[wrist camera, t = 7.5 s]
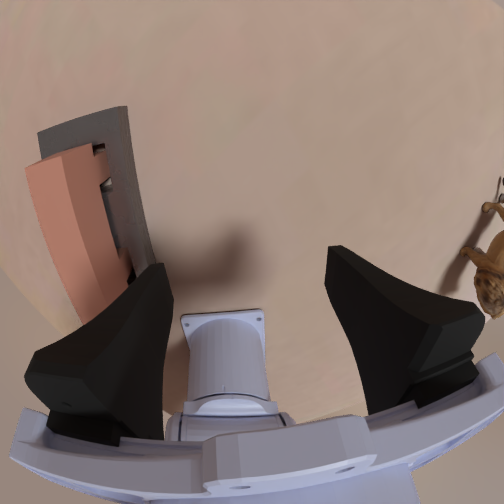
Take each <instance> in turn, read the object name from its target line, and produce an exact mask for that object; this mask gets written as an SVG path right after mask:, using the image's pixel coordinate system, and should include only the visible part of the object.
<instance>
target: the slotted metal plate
mask: <svg viewBox="0 0 504 504" xmlns="http://www.w3.org/2000/svg"><path fill="white" fill-rule="evenodd" d="M37 134H38V141H39V147H40V152H41V158H42V160H43V159H45V158H47V157H49V156H51V155H54V154H56V153H59V152H62V151H65V150H68V149H72V148H75V147H78V146H82V145H86V144H89V143H91V144H92V146H93V145H97V144H101V143H105V148H106V154H107V160H108V166H109V171H110V176H111V181H112V185H107V186H102V187H100V190H101V195H102V199H103V203H104V207H105V211H106V215H107V219H108V223H109V227H110V230H111V234H112V237H113V241H114V244H115V247H116V249H117V248H126V247H128V250H129V254H130V257H131V261H132V264H133V267H134V270H135V272H131V273H130V275H129V277H128V279H127V284H128V287H129V286H130V285H131V283H132V282H133V281H134V280H135V279H136V278H137V277H138V276H139V275H140V274H141V273H142V272H143V271H144V270H145V269H146V268H147V267H148V266H149V265H150V264H156V262H155V258H154V254H153V250H152V246H151V242H150V238H149V233H148V229H147V225H146V220H145V216H144V211H143V206H142V201H141V196H140V191H139V186H138V180H137V174H136V169H135V162H134V156H133V150H132V143H131V135H130V128H129V119H128V110H127V106H118V107H114V108H110V109H106V110H102V111H99V112H95V113H92V114H89V115H85V116H82V117H79V118H76V119H73V120H70V121H67V122H64V123H61V124H59V125H56V126H53V127H50V128H48V129H45V130H43V131H40V132H38V133H37Z"/></svg>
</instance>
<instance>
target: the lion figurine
mask: <svg viewBox="0 0 504 504" xmlns="http://www.w3.org/2000/svg"><path fill="white" fill-rule="evenodd" d="M503 185H504V178H503ZM500 202H501V203H502V204H503V203H504V194H502V195H501V197H500ZM490 209H494V210H496V211H497V212H498V213H499V215H500V217H501V218H502V220H503V221H504V208H503V207H502V206H501V204H500V203H490V202H487V203H485V204H484V205H483V208H482V210H483V211H484V212H485V213H488V211H489V210H490ZM460 254H461V256H465V255H468V256H469V257H470V259H471V260H472V262H473V263H474V264H475V265H476V266H477V267H478V268H477V270H476V275H475V277H474V285H475V288H476V293H477V298H478V301H479V302H480V305H481V307H482V309H483V310H484V312H485V313H487V314H489V315H491V317H492V318H493V319H494V320H495V319H496V318H499V317H500V316H502V315H503V314H504V230H503V231H501V232H500V233H498V234H497V235H496V236H495V238H494V239H493V240H492V242H491V244H490V246H489V248H488V251H487V253H484V252H483V251H482V250H481V249H480V248H478V247H475V248H474V249H472V248H469V247H463V248H462V249H461V251H460Z"/></svg>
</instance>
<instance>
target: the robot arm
mask: <svg viewBox="0 0 504 504" xmlns="http://www.w3.org/2000/svg"><path fill="white" fill-rule="evenodd" d="M324 284H325V287H326V290H327V294H328V297H329V299H330V302H331V304H332V307H333V309H334V311H335V313H336V315H337V317H338V319H339V321H340V323H341V325H342V327H343V329H344V331H345V334H346V336H347V338H348V340H349V342H350V345H351V347H352V351H353V354H354V357H355V360H356V363H357V367H358V370H359V374H360V377H361V381H362V385H363V390H364V394H365V399H366V404H367V410H368V415H369V416H366V417H361V416H356V415H351V414H350V415H343V416H336V417H331V418H326V419H322V420H317V421H312V422H307V423H301V424H296V422H295V421H294V419H292V418H291V417H290V416H289V415H288V414H287V413H286V412H278V406H277V402H271V399H270V393H269V387H268V381H267V374H266V368H265V332H264V312H263V311H262V310H260V309H257V310H247V311H236V312H224V313H211V314H197V315H184V316H182V317H181V323H182V327H183V330H184V333H185V336H186V340H187V343H188V346H189V349H190V361H189V376H188V393H187V401H185V402H184V406H183V413H180V412H175V413H174V414H173V416H172V417H170V418H169V420H168V422H167V425H166V432H165V441H164V431H163V413H162V385H163V367H164V359H165V354H166V349H167V343H168V338H169V333H170V328H171V323H172V317H173V302H174V299H173V295H172V292H171V289H170V285H169V281H168V278H167V274H166V271H165V267H164V263H158V264H150V265H149V266H148V267H147V268H146V269H145V270H144V271H143V272H142V273H141V274H140V275H139V276H138V277H137V278H136V279H135V280H134V281H133V282H132V283H131V285H130V286H129V287H128V288H127V289H126V290H125V291H124V292H123V293H122V294H121V295H120V296H119V297H117V298H116V299H115V300H114V301H113V302H112V303H111V304H110V305H109V306H108V307H107V308H106V309H104V310H103V311H102V312H101V313H100V314H98V315H97V316H96V317H95V318H93V319H92V320H90V321H89V322H88V323H86V324H85V325H83V326H82V327H80V328H79V329H78V330H76V331H74V332H73V333H71V334H69V335H68V336H66V337H64V338H62V339H61V340H59V341H57V342H55V343H53V344H51V345H48V346H46V347H44V348H42V349H40V350H38V351H36V352H35V353H34V355H33V357H32V359H31V361H30V364H29V366H28V368H27V371H26V373H25V375H24V378H25V382H26V384H27V386H28V387H29V389H30V390H31V391H32V392H33V393H34V394H35V395H36V396H37V397H38V398H39V399H40V400H41V401H42V402H43V403H44V404H45V405H46V406H47V407H48V408H49V409H50V413H49V416H47V415H46V414H44V413H41V412H38V411H35V410H32V409H28V408H23V410H22V413H21V416H20V419H19V422H18V425H17V428H16V431H15V435H14V438H13V442H12V446H11V450H10V454H9V457H10V458H11V459H12V460H14V461H16V462H17V463H19V464H21V465H22V466H24V467H25V468H27V469H29V470H31V471H32V472H34V473H36V474H38V475H39V476H41V477H43V478H45V479H47V480H49V481H52V482H55V483H57V484H60V485H62V486H65V487H68V488H70V489H73V490H76V491H79V492H82V493H85V494H88V495H91V496H95V497H98V498H102V499H105V500H109V501H113V502H117V503H121V504H421V503H420V500H419V497H418V494H417V490H416V487H415V484H414V481H413V478H412V475H411V473H410V472H411V471H413V470H416V469H418V468H420V467H422V466H424V465H426V464H427V463H429V462H431V461H433V460H435V459H437V458H438V457H440V456H442V455H444V454H445V453H447V452H449V451H450V450H452V449H453V448H455V447H457V446H458V445H460V444H461V443H463V442H465V441H466V440H468V439H469V438H471V437H472V436H474V435H475V434H476V433H478V432H479V431H481V430H482V429H484V428H485V427H486V426H488V425H489V424H490V423H491V422H492V421H494V420H495V419H496V418H497V417H498V416H499V415H500V414H501V413H502V412H504V364H503V362H502V361H501V359H500V358H499V357H498V355H497V354H496V353H495V352H494V353H492V354H490V355H489V356H487V357H485V358H483V359H482V360H480V361H479V362H478V363H476V365H474V364H473V362H472V359H473V358H474V354H473V353H472V351H471V348H472V347H473V345H474V344H475V342H476V340H477V338H478V337H479V335H480V334H481V331H482V330H483V327H484V324H485V316H484V314H483V313H482V312H481V311H480V309H479V308H478V307H477V306H476V304H475V303H473V302H469V301H463V300H458V299H453V298H449V297H445V296H441V295H438V294H435V293H432V292H429V291H426V290H423V289H420V288H418V287H415V286H413V285H411V284H408V283H406V282H404V281H402V280H400V279H398V278H396V277H394V276H392V275H390V274H388V273H387V272H385V271H383V270H381V269H379V268H378V267H376V266H374V265H373V264H371V263H370V262H368V261H366V260H365V259H363V258H362V257H360V256H358V255H357V254H355V253H354V252H352V251H350V250H349V249H347V248H345V247H343V246H341V245H338V246H328V254H327V265H326V274H325V283H324ZM259 317H260V318H259ZM258 318H259V319H258ZM186 323H188V324H186Z"/></svg>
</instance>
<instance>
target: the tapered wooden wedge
mask: <svg viewBox="0 0 504 504" xmlns="http://www.w3.org/2000/svg"><path fill="white" fill-rule="evenodd" d="M25 172H26V177H27V181H28V185H29V189H30V193H31V197H32V200H33V204H34V207H35V211H36V214H37V217H38V220H39V223H40V226H41V229H42V232H43V235H44V238H45V241H46V244H47V246H48V249H49V252H50V254H51V257H52V259H53V262H54V264H55V267H56V269H57V271H58V274H59V276H60V278H61V281H62V283H63V285H64V287H65V289H66V291H67V294H68V296H69V298H70V300H71V302H72V304H73V306H74V308H75V310H76V312H77V314H78V316H79V317H80V319H81V321H82V323H83V325H85V324H86V323H88V322H89V321H90V320H92V319H93V318H95V317H96V316H97V315H98V314H100V313H101V312H102V311H103V310H104V309H106V308H107V307H108V306H109V305H110V304H111V303H112V302H113V301H114V300H115V299H116V298H117V297H119V296H120V295H121V294H122V293H123V292H124V291H125V290H126V289H127V288H128V284H127V279H128V277H129V275H130V273H131V270H132V268H133V264H132V261H131V257H130V254H129V250H128V247H126V248H117V249H116V247H115V244H114V241H113V237H112V234H111V230H110V227H109V223H108V219H107V215H106V211H105V207H104V203H103V199H102V195H101V190H100V186H99V185H100V184H101V183H102V182H104V181H105V180H106V179H108V178H109V177H110V171H109V166H108V160H107V154H106V151H102V152H97V153H93V150H92V144H91V143H89V144H86V145H82V146H78V147H75V148H72V149H68V150H65V151H62V152H59V153H56V154H54V155H51V156H49V157H47V158H45V159H43V160H41V161H38V162H36V163H34V164H32V165H30V166H28V167H26V168H25Z"/></svg>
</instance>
